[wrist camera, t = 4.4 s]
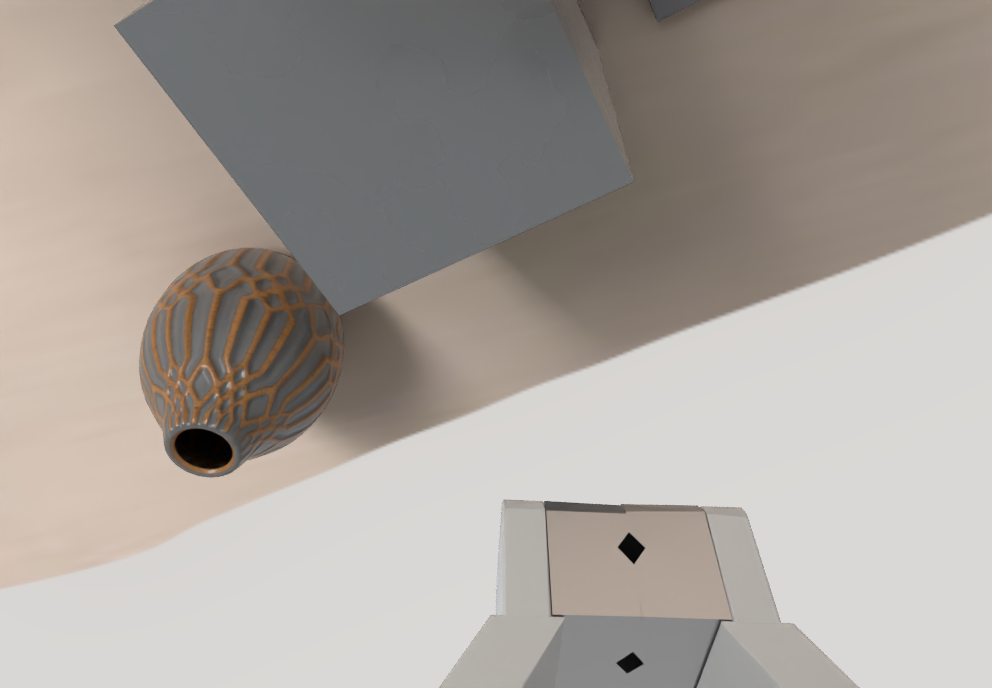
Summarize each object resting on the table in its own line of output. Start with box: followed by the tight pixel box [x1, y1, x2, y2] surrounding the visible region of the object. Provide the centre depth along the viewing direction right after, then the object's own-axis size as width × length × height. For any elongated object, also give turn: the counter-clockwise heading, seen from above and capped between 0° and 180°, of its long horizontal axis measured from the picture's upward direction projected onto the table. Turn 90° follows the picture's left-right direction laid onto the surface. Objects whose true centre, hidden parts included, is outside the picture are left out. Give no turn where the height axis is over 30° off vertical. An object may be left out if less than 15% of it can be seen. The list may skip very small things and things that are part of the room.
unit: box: [114, 0, 634, 315], centre depth 21 cm, size 8×8×10 cm
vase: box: [139, 248, 344, 477], centre depth 29 cm, size 7×7×9 cm
